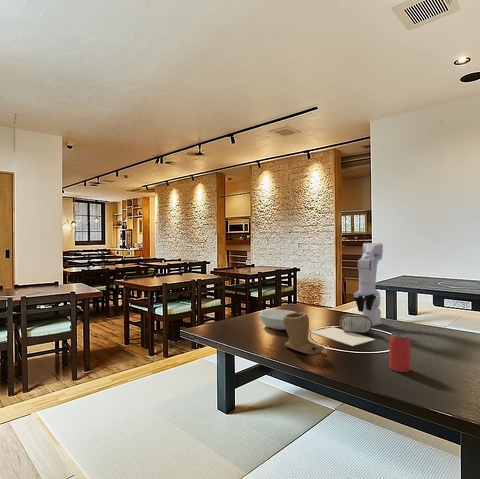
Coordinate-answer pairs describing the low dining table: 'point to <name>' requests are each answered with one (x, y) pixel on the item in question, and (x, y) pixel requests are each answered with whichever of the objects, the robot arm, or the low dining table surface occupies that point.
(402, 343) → the beer can
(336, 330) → the mat
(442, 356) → the low dining table surface
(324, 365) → the low dining table surface
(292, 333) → the tan boot-shaped piece
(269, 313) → the serving bowl
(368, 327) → the tin
